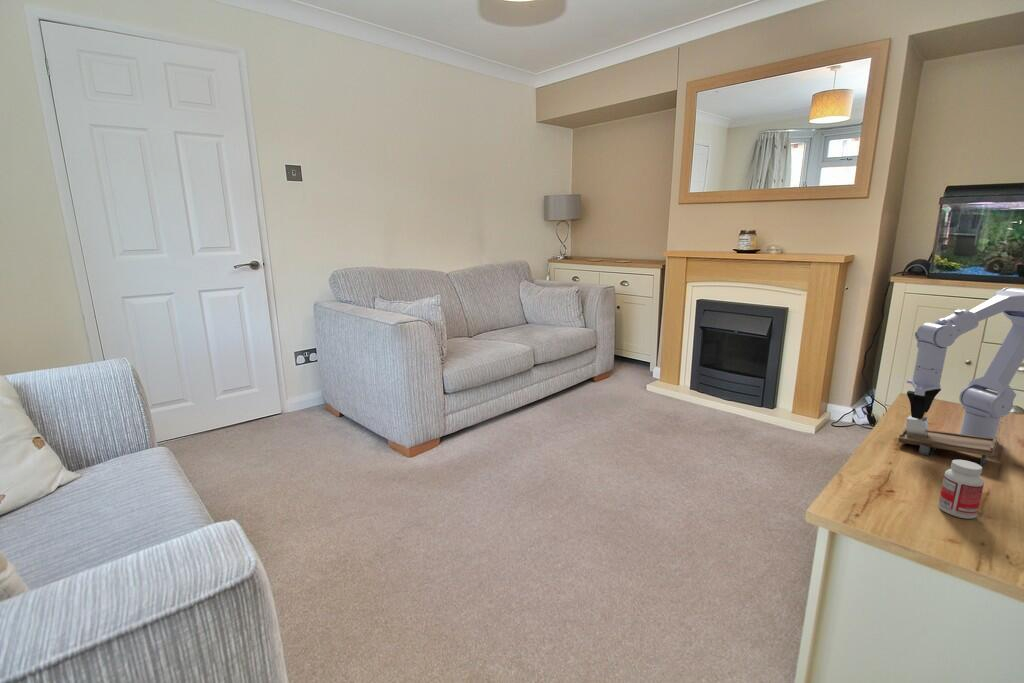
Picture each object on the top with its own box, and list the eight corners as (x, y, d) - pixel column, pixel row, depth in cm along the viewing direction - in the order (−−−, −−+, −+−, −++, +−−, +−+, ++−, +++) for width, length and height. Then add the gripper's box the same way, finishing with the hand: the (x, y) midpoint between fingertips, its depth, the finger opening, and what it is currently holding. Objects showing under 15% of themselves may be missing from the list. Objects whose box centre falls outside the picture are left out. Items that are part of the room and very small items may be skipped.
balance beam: (907, 431, 141) (907, 425, 141) (997, 444, 127) (997, 436, 127) (898, 442, 134) (898, 435, 134) (992, 456, 120) (992, 448, 120)
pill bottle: (980, 513, 103) (991, 466, 100) (971, 523, 99) (982, 474, 97) (943, 500, 108) (952, 455, 105) (933, 509, 104) (943, 462, 102)
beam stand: (909, 436, 142) (911, 426, 141) (987, 455, 130) (989, 445, 129) (898, 449, 133) (900, 439, 132) (980, 471, 121) (983, 460, 120)
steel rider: (909, 432, 138) (909, 415, 137) (928, 434, 135) (928, 417, 134) (906, 436, 135) (906, 418, 134) (925, 438, 132) (925, 421, 131)
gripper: (915, 360, 138) (907, 404, 141) (904, 369, 129) (895, 416, 132) (948, 365, 133) (938, 411, 136) (938, 374, 124) (928, 424, 127)
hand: (919, 414), depth 134 cm, fingers open, 7 cm apart
